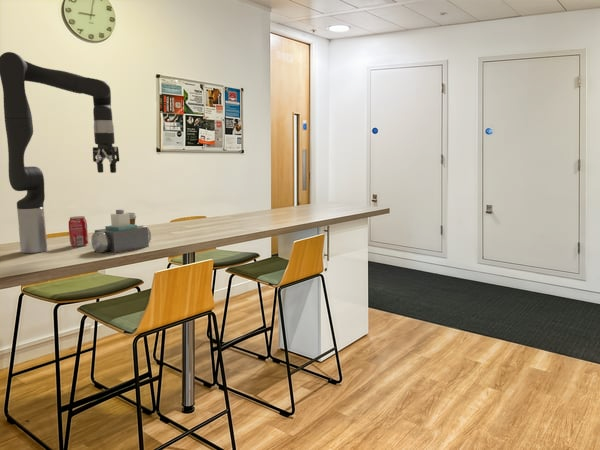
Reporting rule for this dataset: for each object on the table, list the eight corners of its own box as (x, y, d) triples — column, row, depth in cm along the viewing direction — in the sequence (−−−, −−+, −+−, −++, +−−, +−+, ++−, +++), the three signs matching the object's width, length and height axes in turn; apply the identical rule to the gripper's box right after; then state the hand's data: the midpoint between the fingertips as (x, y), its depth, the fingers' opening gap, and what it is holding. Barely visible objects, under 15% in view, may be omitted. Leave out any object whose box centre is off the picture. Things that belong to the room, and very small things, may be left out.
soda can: (82, 243, 218) (80, 215, 217) (92, 245, 214) (89, 216, 212) (66, 246, 212) (64, 217, 211) (76, 247, 208) (73, 218, 207)
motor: (89, 251, 199) (87, 228, 198) (136, 242, 217) (134, 221, 216) (107, 254, 192) (106, 230, 191) (154, 245, 210) (153, 223, 209)
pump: (111, 228, 203) (110, 210, 202) (122, 227, 207) (121, 209, 206) (119, 229, 200) (118, 210, 199) (130, 228, 204) (129, 209, 203)
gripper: (85, 132, 207) (88, 173, 209) (106, 131, 199) (109, 173, 201) (101, 133, 213) (104, 172, 215) (123, 131, 205) (125, 172, 207)
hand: (106, 172), depth 208 cm, fingers open, 8 cm apart
